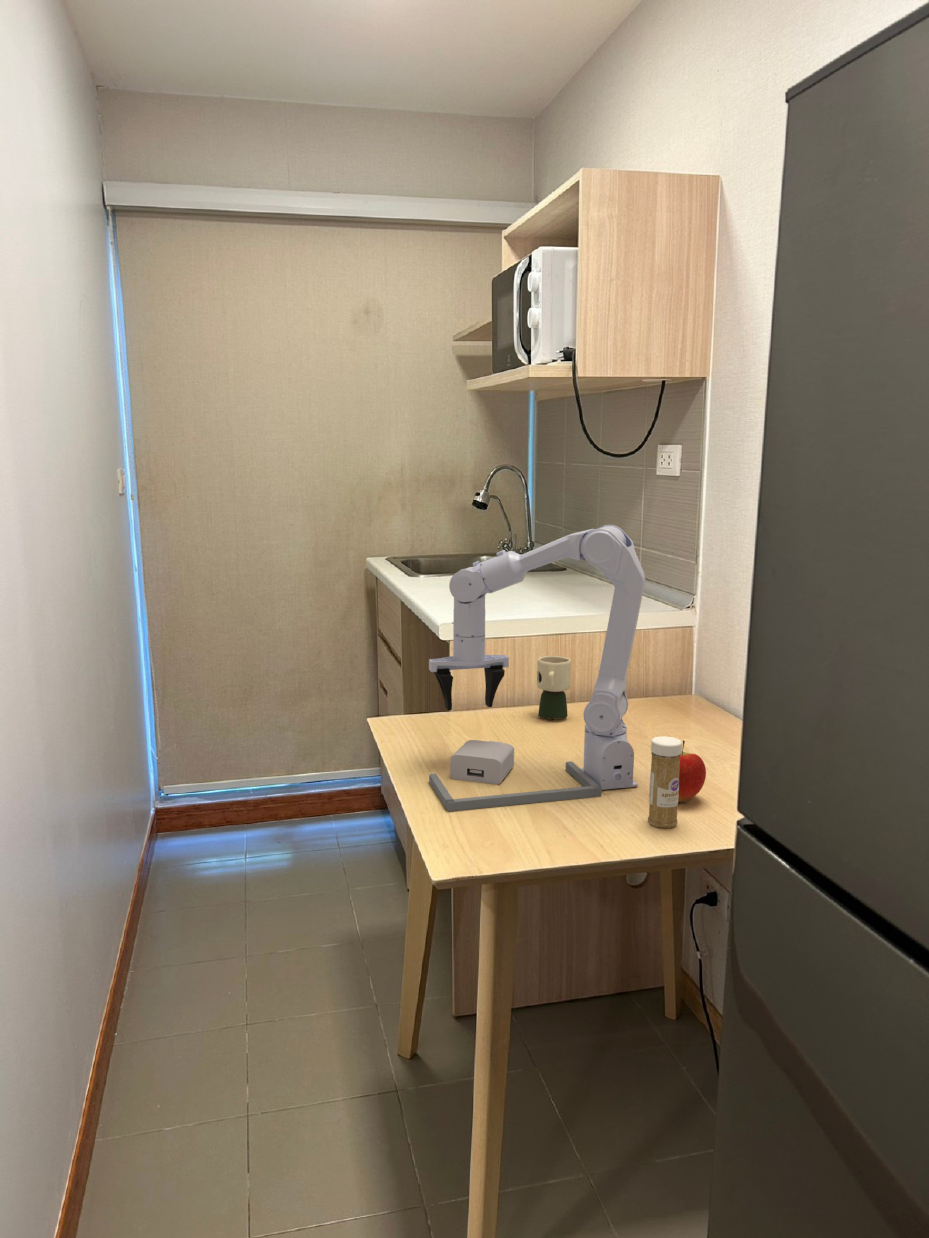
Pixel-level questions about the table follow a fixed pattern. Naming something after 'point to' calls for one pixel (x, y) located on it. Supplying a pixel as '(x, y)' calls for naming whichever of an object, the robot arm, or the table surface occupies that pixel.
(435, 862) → the table surface
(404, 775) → the table surface
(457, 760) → the charger
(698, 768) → the apple
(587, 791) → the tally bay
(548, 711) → the character mug
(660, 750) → the sprinkles bottle
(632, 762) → the robot arm
